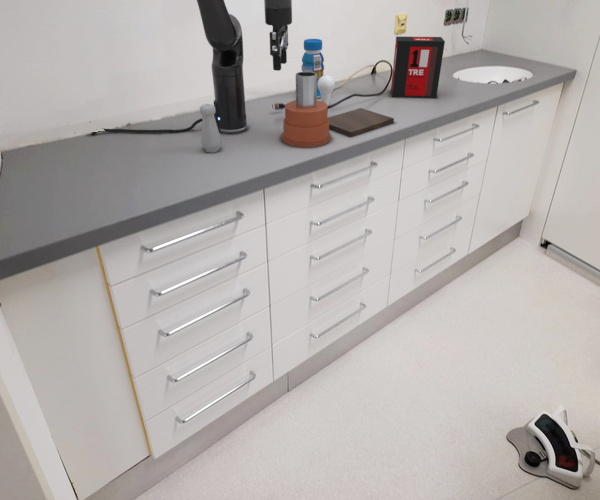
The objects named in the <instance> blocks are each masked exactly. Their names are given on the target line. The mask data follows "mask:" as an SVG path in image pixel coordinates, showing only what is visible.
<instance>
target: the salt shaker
mask: <svg viewBox="0 0 600 500" xmlns="http://www.w3.org/2000/svg"><path fill="white" fill-rule="evenodd" d="M215 112H216V110H215V106H214V104H212V103H204V104H201V105H200V106H199V113H200V115H202V117H201V118H202V122H201V138H200V144H201V146H202V147H203V149H204V150H205V152H206V153H211V154H212V153H216V152H219V150H220V148H221V145H222V138H221V134H220V132H219V130H218V127H217V124H216V120H215V117H214V114H215Z"/></svg>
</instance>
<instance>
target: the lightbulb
mask: <svg viewBox="0 0 600 500" xmlns="http://www.w3.org/2000/svg"><path fill="white" fill-rule="evenodd" d="M317 86H318V89H319V91H320V93H321V97H320V99H321V102H324V103H326V104H327V105H328V107H329V106H330V100H331V95H332V93H333V91H334V89H335V86H336V84H335V80H334V78H333V77H332V76H330V75H327V74H325V75H323V76H322V77H321V78H320V79H319V80H318V84H317Z"/></svg>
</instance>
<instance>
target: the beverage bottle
mask: <svg viewBox="0 0 600 500" xmlns="http://www.w3.org/2000/svg"><path fill="white" fill-rule="evenodd" d="M303 50H304V53H303V55H302V56H301V62H302V64H301V72H315V73H317V84H318V80H319V79H320V78H321V77H322V76H324V71H325V65H324V61H325V59H324V55H323V53H322V52H321V51H322V50H323V40H322V39H320V38H306V39H304V40H303ZM317 99H321V93H320V91H319V89H318V86H317Z"/></svg>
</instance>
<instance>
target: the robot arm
mask: <svg viewBox="0 0 600 500" xmlns="http://www.w3.org/2000/svg"><path fill="white" fill-rule="evenodd" d="M263 1H264V22H265V25H266V26H267V25H268V26H272V31H269V33H268V34H269V55H270V56H271V57H272V69H273V71H278V72H279V71H281V70H282V64H283V65H286V64H287V62H288V60H287V58H288V55H287V54H288V53H287V50H288V47H289V27H288V26H289V25H291V24H293V3H292V1H293V0H263ZM196 4H197V6H198V9H199V10H198V11H199V14H200V18H201V23H202V27H203V31H204V35H205V38H206V41H207V43H208V44H209V46H210V47H211V48H212V60H211V61H212V62H211V75H212V83H213V93H214V94H213V95H214V99H213V105H214V106H215V110H216V112H215V114H214V117H215V120H216V124H217V127H218V130H219V133H223V134H238V133H241V132H244V131H247V129H248V124H247V123H248V122H247V118H248V117H247V112H246V111H247V109H246V95H245V94H246V93H245V82H244V41H243V29H242V26H241V22H240V21H239V19H238V18H237V17H236V16H234V15H233V14H231V13H229V11H228V7H227V6H226V3H225V0H196ZM200 123H202V117H201V118H199V119H197V120H195V121H194V122H193V123H192V124H191V125H190V126H189V127H186V128H181V129H131V128H129V129H128V128H103V129H104V130H105V131H98V132H93V131H92V132H91V133H90V136H95V135H96V134H97V133H101V132H103V133H104V132H105V133H138V134H139V133H140V134H141V133H142V134H146V133H147V134H152V133H153V134H154V133H155V134H157V133H158V134H159V133H160V134H161V133H174V134H175V133H185V132H188V131H192V130H193V129H194V128H195V127H196V126H197V125H198V124H200Z"/></svg>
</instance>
